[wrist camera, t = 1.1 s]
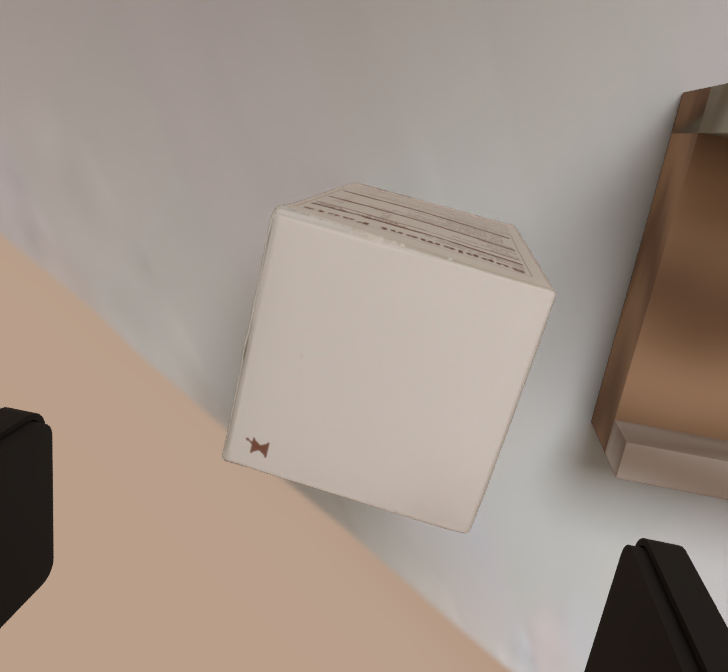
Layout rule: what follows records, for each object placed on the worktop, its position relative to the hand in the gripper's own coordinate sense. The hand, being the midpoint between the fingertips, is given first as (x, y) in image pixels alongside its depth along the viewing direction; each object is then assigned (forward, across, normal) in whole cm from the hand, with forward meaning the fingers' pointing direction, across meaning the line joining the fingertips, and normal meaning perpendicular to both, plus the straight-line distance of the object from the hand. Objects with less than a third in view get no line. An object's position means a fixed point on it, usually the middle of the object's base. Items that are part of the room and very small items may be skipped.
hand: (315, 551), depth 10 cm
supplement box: (+19, 0, 0) cm, 19 cm away
